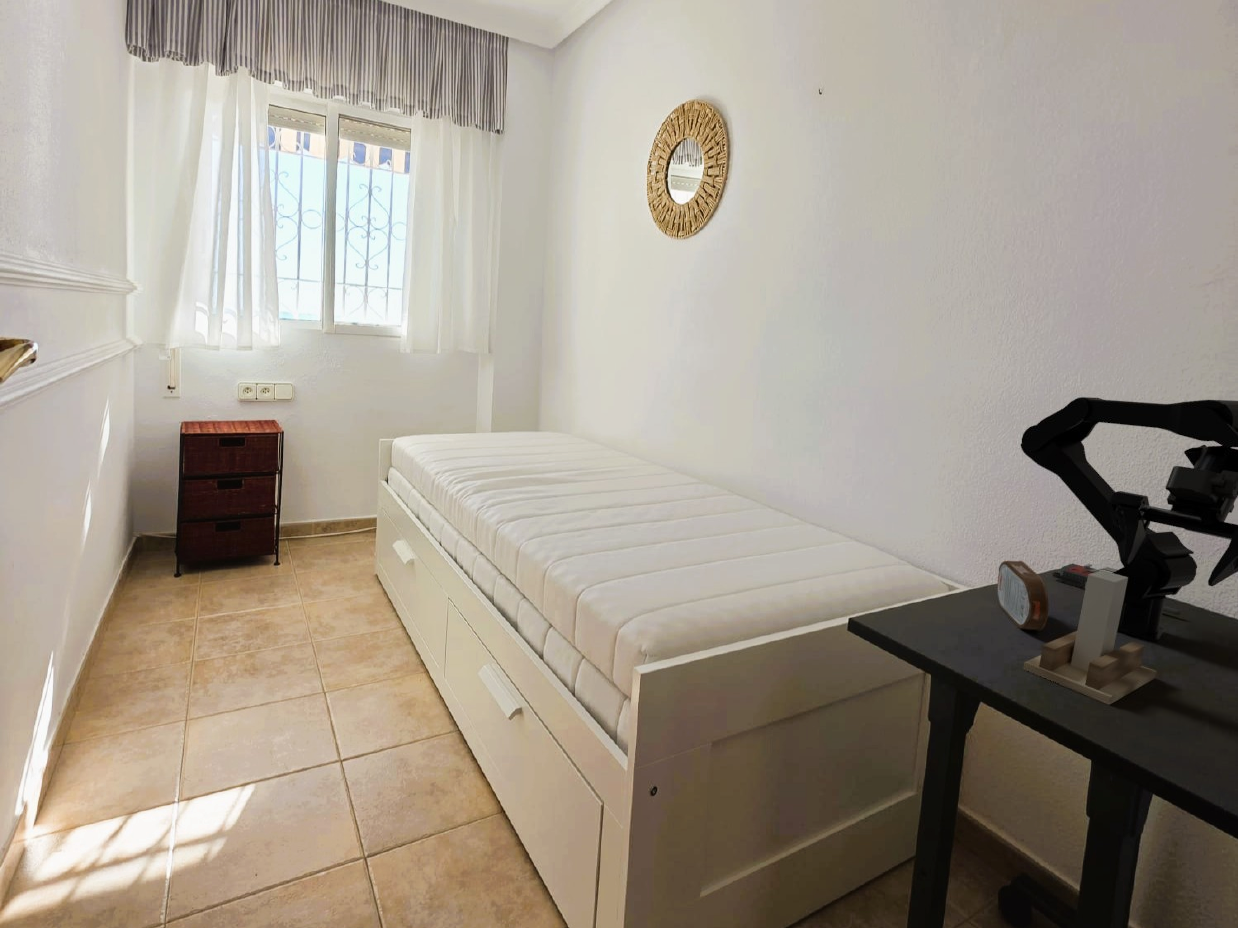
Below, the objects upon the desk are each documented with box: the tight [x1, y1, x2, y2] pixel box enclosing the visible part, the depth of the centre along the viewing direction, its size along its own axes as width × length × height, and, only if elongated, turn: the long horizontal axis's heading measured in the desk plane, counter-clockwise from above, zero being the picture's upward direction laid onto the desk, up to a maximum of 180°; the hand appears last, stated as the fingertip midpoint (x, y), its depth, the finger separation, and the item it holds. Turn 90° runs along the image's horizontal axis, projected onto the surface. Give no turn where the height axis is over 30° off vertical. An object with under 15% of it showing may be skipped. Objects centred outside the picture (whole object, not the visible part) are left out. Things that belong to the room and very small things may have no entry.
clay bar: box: [1071, 570, 1128, 672], centre depth 90 cm, size 4×3×12 cm
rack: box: [1022, 630, 1157, 705], centre depth 90 cm, size 14×10×4 cm
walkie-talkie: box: [1051, 563, 1181, 616], centre depth 122 cm, size 9×4×20 cm
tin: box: [996, 560, 1050, 632], centre depth 108 cm, size 15×3×8 cm, turn 168°
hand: (1166, 572), depth 91 cm, fingers open, 9 cm apart
